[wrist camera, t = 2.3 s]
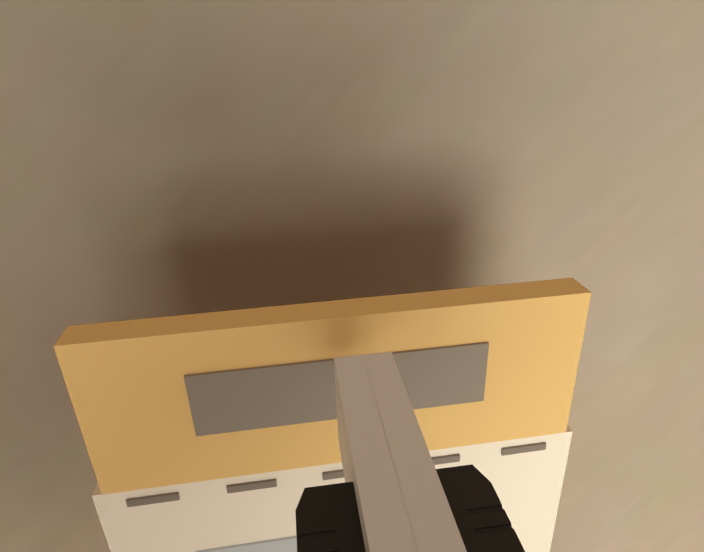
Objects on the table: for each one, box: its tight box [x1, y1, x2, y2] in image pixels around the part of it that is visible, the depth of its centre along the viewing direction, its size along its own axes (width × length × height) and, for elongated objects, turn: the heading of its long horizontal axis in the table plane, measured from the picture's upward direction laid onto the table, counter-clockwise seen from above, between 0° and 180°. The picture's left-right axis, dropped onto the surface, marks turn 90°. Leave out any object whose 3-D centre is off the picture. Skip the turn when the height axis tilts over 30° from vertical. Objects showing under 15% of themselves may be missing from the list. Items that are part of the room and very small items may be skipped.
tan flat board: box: [54, 278, 592, 494], centre depth 18 cm, size 17×6×1 cm, turn 92°
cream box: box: [92, 425, 573, 552], centre depth 25 cm, size 18×10×10 cm, turn 92°
